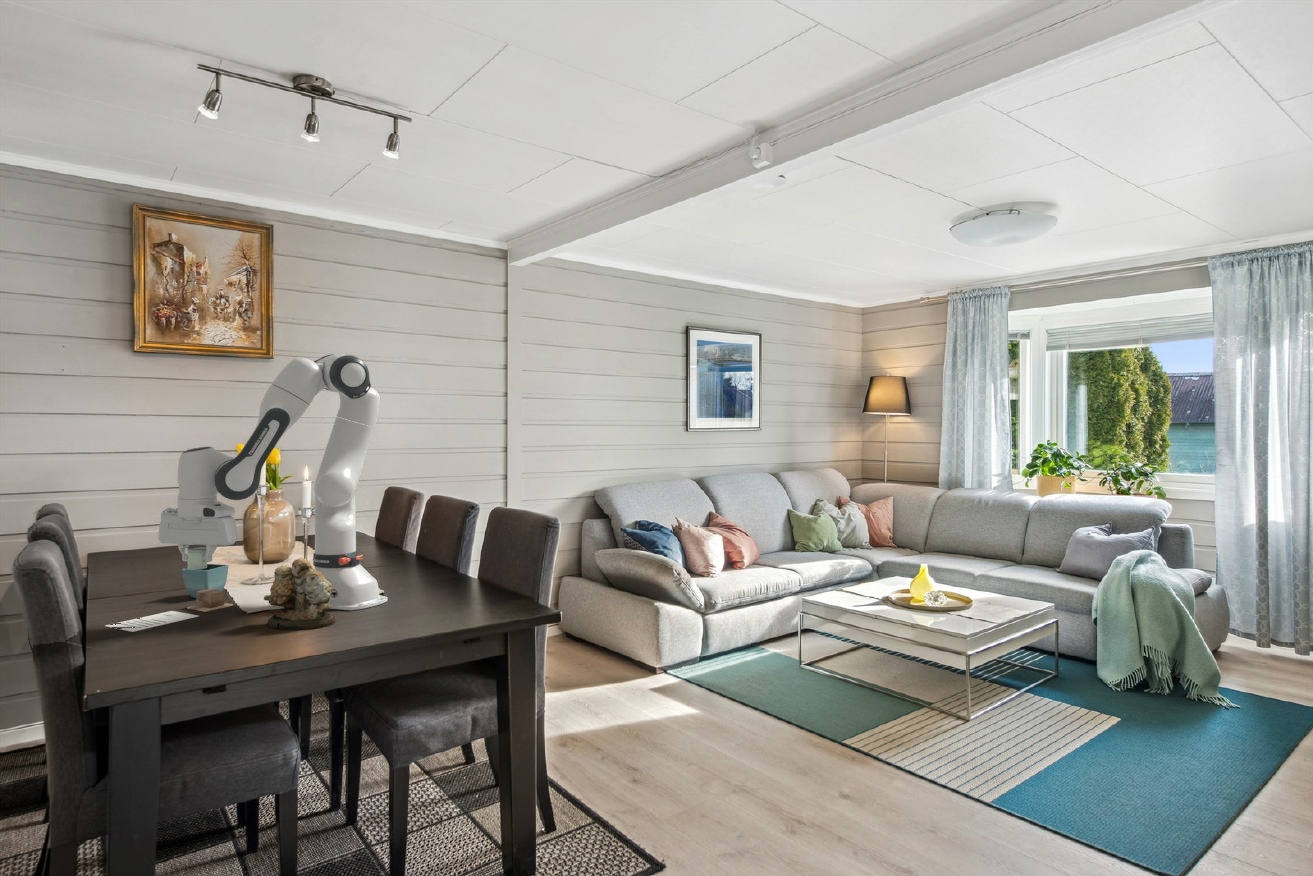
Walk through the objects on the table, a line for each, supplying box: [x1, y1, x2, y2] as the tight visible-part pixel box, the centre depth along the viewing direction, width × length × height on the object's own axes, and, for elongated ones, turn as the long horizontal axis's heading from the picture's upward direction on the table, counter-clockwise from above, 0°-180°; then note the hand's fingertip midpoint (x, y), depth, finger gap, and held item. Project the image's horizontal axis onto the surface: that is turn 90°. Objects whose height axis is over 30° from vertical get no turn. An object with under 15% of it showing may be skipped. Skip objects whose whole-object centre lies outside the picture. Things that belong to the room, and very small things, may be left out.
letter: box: [104, 610, 199, 632], centre depth 197 cm, size 12×17×1 cm
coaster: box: [186, 602, 234, 612], centre depth 212 cm, size 8×8×1 cm
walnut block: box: [195, 589, 225, 608], centre depth 212 cm, size 6×4×4 cm, turn 64°
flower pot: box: [181, 563, 230, 599], centre depth 225 cm, size 9×9×9 cm
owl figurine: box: [263, 557, 336, 631], centre depth 196 cm, size 18×12×17 cm, turn 87°
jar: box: [187, 547, 208, 570], centre depth 199 cm, size 5×5×5 cm
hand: (197, 561), depth 199 cm, fingers closed on jar, 4 cm apart
